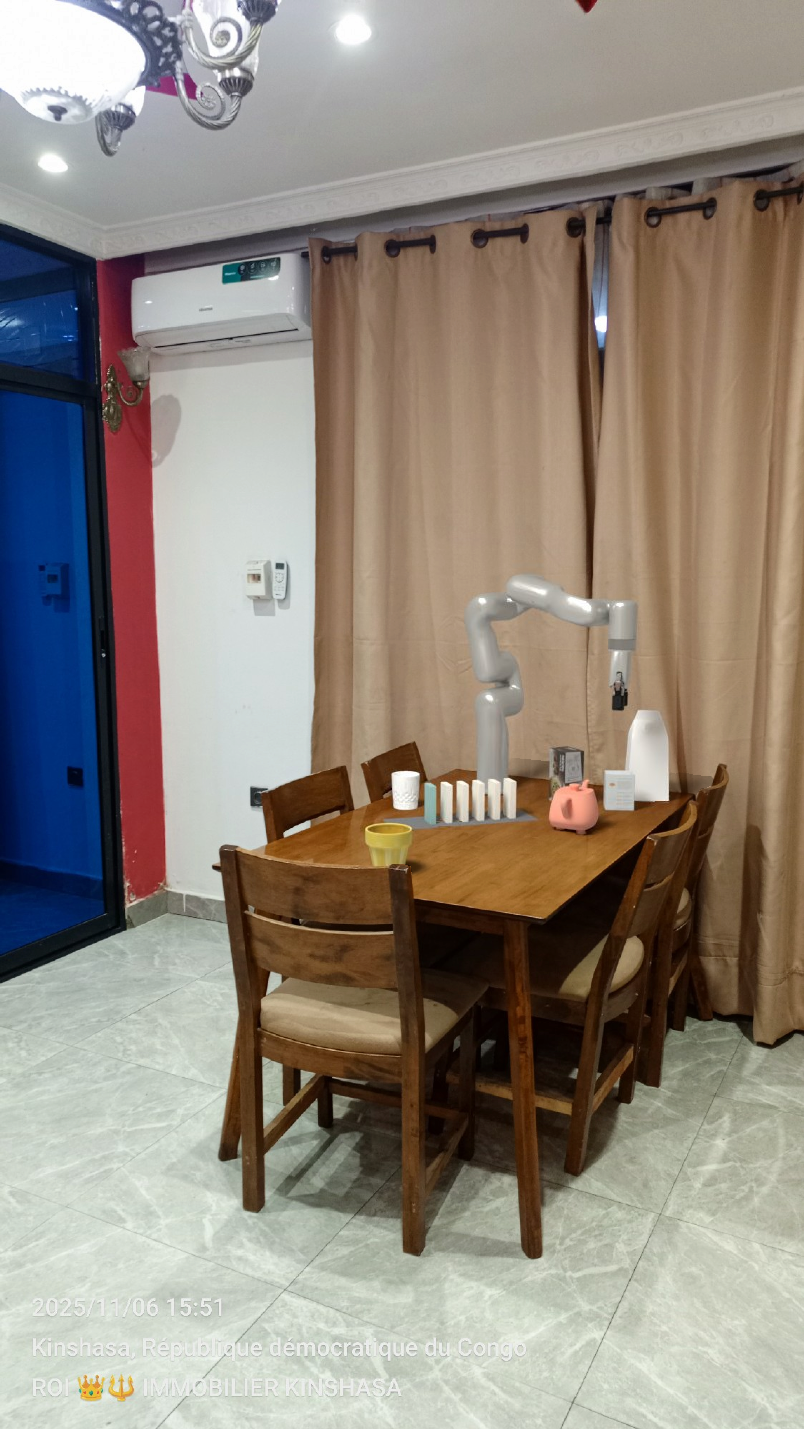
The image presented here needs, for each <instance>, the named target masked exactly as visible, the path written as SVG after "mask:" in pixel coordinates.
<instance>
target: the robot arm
mask: <svg viewBox="0 0 804 1429" xmlns="http://www.w3.org/2000/svg"><path fill="white" fill-rule="evenodd" d="M532 608H533V609H535V610H539V611H542V612H544V613H547V614H550V615H551V616H553V617H555V618H556V619H559V620H561V621H564V622H566V623H569V624H574V625H576V626H579V627H584V628H590V627H605V626H608V632H607V634H608V635H607V636H608V638H607V651H608V652H611V654H610V663H609V677H608V678H609V679H608V688H611V689H612V688H613V689H612V690H613V692H612V695H611V711H617V712H618V711H619V712H623V711H625V707H627V706H628V702H629V700H628V699H629V691H628V688H629V686H630V682H631V672H632V654H633V653H635V652H636V651H637V634H638V614H639V613H638V610H639V609H638V608H639V607H638V602H637V601H636V600H631V599H628V600H627V599H615V600H614V599H607V598H583V597H580V596H577V595H574V594H571V593H568V592H565V590H564V587H563V586H562V585H560V584H559V583H555V582H551V581H548V580H546V579H545V578H544V577H543V576H542V575H540V574H536V573H535V574H534V573H519V574H515V575H513V576H511V577H510V578H509V580H508V581H507V583H506V585H505V592H483V593H480V594H478V595H475V596H474V597H473V598H472V599H471V600H470V601H469V602H468V604H467V606H466V607H465V611H464V614H463V615H464V616H463V617H464V618H463V619H464V620H463V621H464V626H465V631H466V634H467V640H468V643H469V652H470V657H471V658H470V659H471V663H472V669H473V673H474V674H473V675H474V677H475V679H476V680H477V681H478V682H479V683H481V684H494V687H488V688H485V689H483V690H481V691H480V692H478V694H477V695H476V697H475V699H474V712H475V718H476V719H475V720H476V731H477V732H476V735H477V736H476V741H477V743H476V744H477V745H476V746H477V747H476V780H479V781H481V782H483V783H484V784H485V795H488V779H495V780H497V781H498V782H500V783H501V792H500V795H503V790H504V778H509V753H510V752H509V748H510V745H509V743H510V740H509V739H510V738H509V735H510V734H509V727H508V724H507V721H506V718H507V717H513V716H515V715H518V714H519V713H520V712H521V711H522V709H523V707H524V703H525V696H524V687H523V681H522V677H521V676H522V675H521V672H520V666H519V663H518V661H517V659H516V657H515V656H514V654H512V653H511V652H509V651H506V650H500V649H499V644H498V637H497V634H496V632H495V630H494V627H493V626H492V625H491V623H492V622H501V621H502V622H503V621H510V620H513V619H516V618H517V617H519V616H521V615H522V614H525V613H526V612H528V611H529V610H530V609H532Z"/></svg>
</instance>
